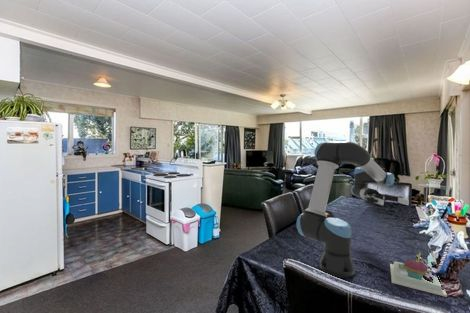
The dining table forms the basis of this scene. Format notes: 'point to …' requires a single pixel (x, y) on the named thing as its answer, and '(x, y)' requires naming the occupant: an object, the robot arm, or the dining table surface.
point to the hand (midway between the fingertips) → (395, 202)
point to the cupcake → (415, 268)
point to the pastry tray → (414, 280)
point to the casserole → (329, 214)
